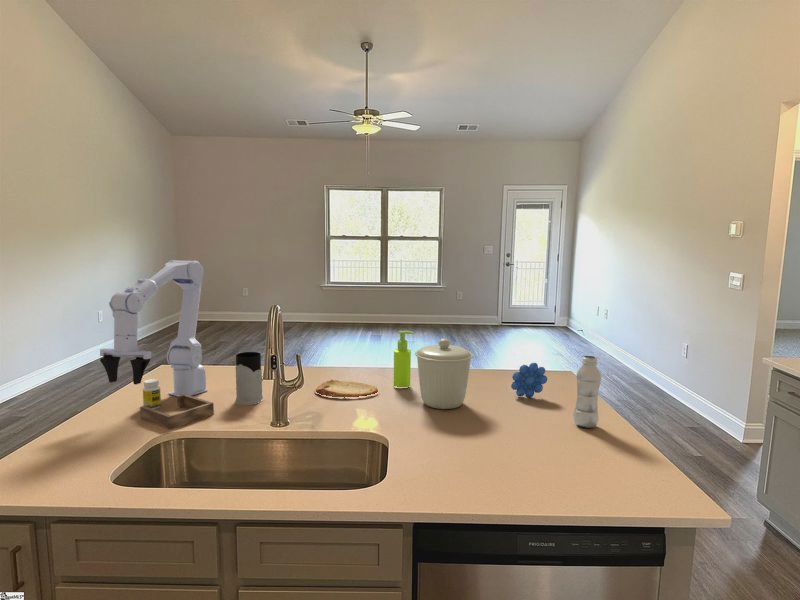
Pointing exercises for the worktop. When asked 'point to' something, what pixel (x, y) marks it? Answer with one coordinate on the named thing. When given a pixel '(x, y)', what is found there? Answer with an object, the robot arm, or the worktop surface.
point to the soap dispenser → (402, 362)
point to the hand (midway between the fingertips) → (125, 382)
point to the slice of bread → (345, 389)
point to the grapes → (529, 380)
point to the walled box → (171, 421)
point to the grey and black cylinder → (248, 378)
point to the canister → (443, 374)
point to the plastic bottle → (587, 393)
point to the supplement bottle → (152, 393)
